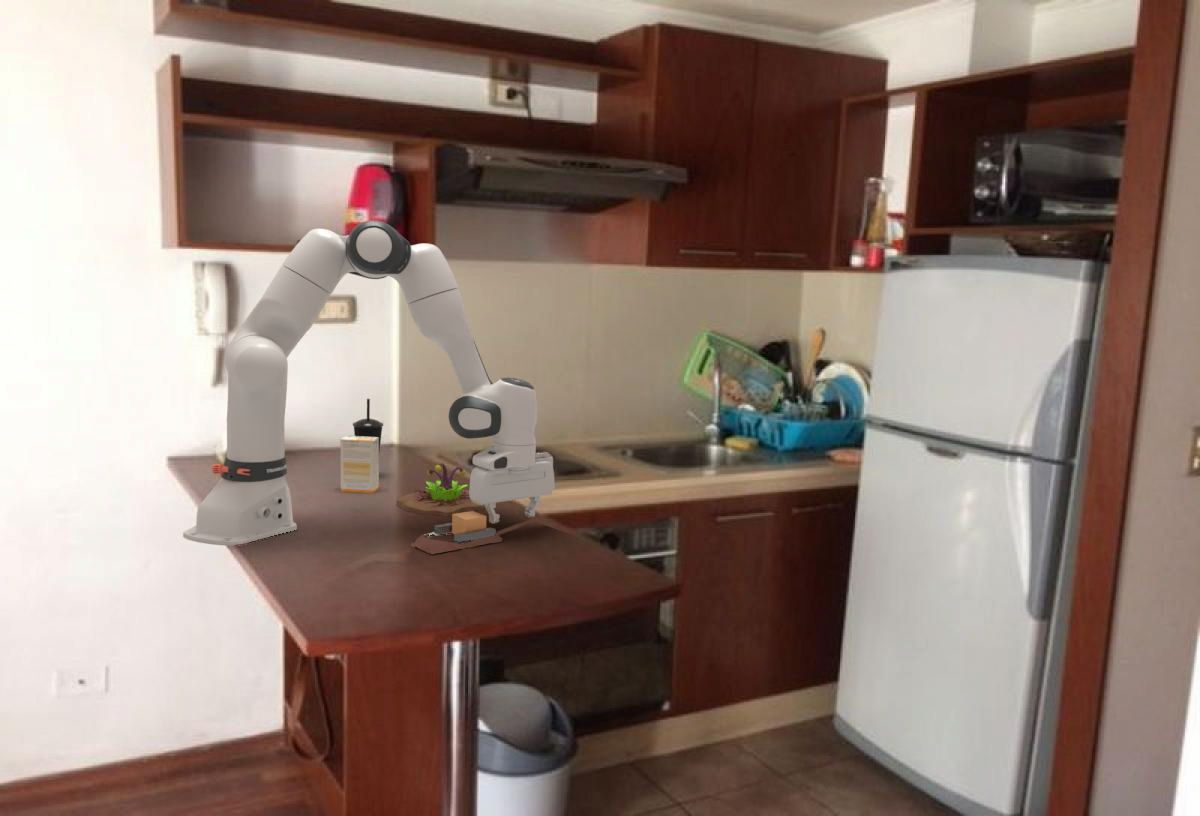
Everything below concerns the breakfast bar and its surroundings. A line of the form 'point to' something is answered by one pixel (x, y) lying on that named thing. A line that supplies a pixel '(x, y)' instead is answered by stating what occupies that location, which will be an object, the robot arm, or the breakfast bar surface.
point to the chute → (464, 535)
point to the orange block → (468, 522)
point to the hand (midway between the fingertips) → (512, 519)
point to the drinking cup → (368, 426)
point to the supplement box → (359, 464)
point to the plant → (440, 496)
